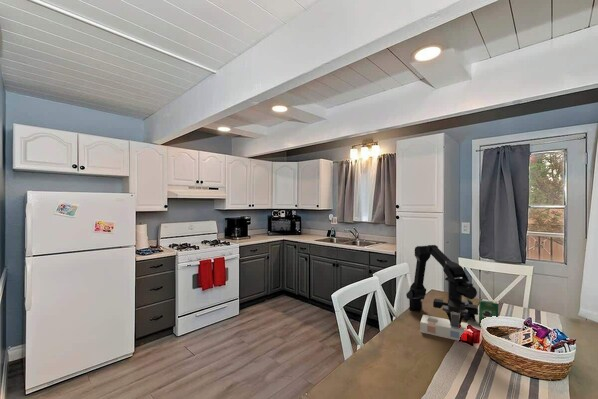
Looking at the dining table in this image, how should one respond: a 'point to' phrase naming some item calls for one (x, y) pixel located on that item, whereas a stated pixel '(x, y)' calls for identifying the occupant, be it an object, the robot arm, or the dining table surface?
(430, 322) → the port block
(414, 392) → the dining table surface
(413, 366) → the dining table surface
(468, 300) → the speaker
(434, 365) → the dining table surface
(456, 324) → the plug
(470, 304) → the robot arm
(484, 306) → the coffee box
